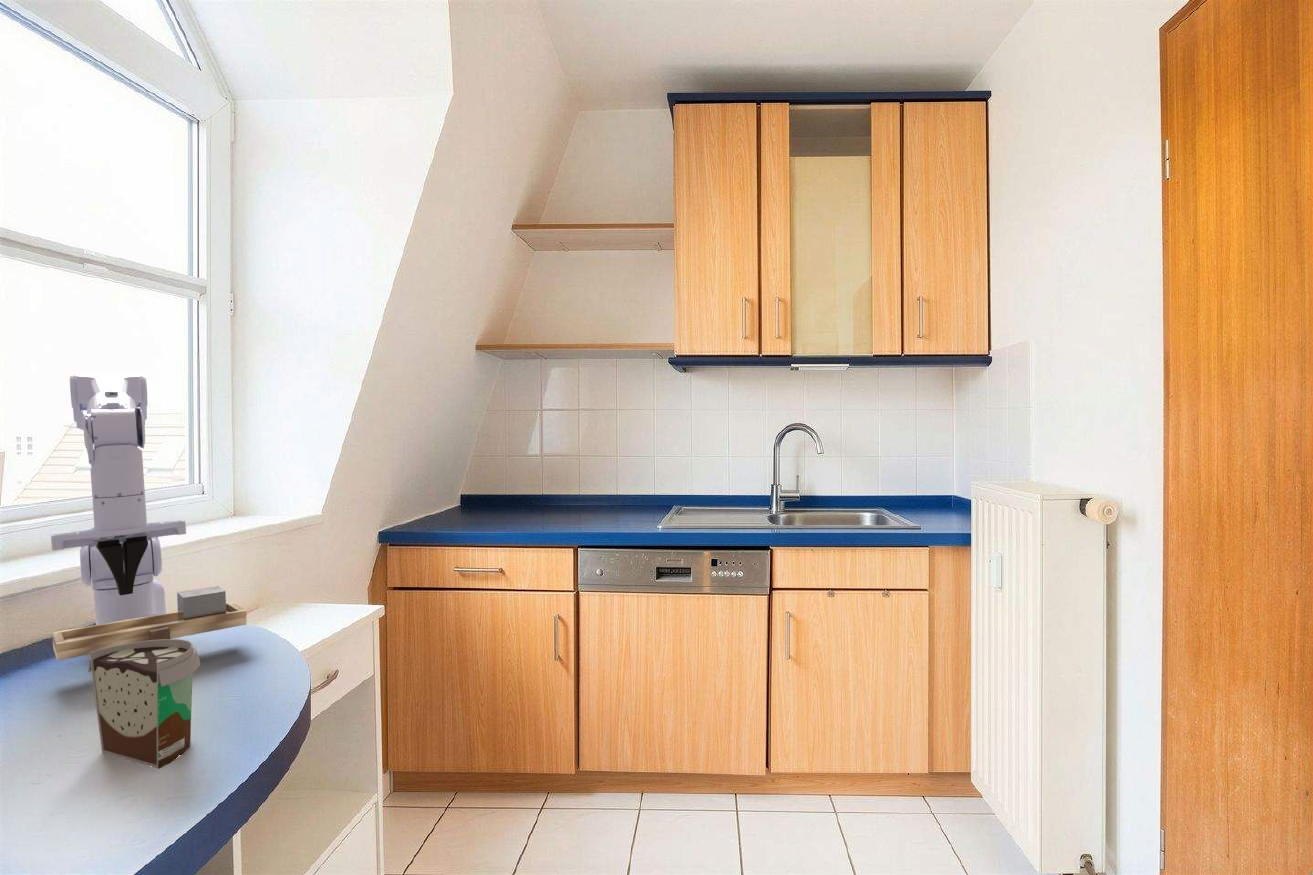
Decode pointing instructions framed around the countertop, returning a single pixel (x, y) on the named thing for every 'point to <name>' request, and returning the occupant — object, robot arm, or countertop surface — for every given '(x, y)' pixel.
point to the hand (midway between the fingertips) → (125, 593)
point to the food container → (144, 699)
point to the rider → (201, 603)
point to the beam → (140, 631)
